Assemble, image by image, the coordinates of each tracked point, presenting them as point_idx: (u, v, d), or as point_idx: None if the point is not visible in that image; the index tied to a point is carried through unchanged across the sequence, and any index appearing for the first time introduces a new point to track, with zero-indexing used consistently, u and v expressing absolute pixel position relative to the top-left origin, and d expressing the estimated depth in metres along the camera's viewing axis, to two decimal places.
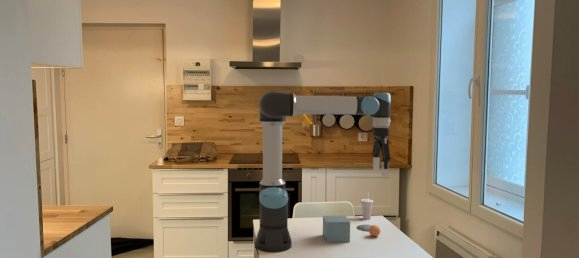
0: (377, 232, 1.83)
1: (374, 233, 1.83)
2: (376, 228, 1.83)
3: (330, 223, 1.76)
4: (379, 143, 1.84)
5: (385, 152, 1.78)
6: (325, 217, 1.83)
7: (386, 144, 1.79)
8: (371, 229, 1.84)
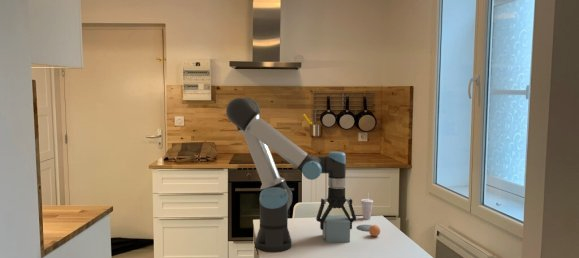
0: (377, 232, 1.83)
1: (374, 233, 1.83)
2: (376, 228, 1.83)
3: (330, 223, 1.76)
4: None
5: (318, 212, 1.81)
6: None
7: (321, 205, 1.80)
8: (371, 229, 1.84)
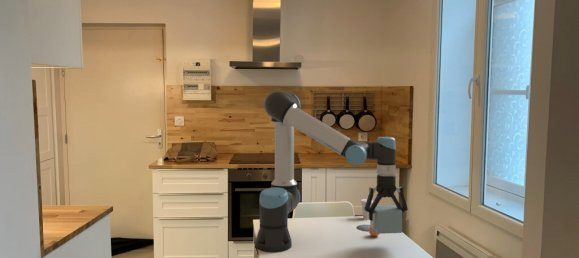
0: None
1: (374, 233, 1.83)
2: None
3: (381, 213, 1.65)
4: None
5: (366, 202, 1.70)
6: None
7: (370, 194, 1.69)
8: (371, 229, 1.84)
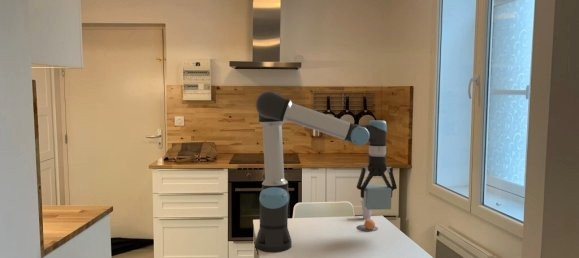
0: None
1: None
2: None
3: (372, 190, 1.77)
4: None
5: None
6: None
7: (362, 173, 1.81)
8: None
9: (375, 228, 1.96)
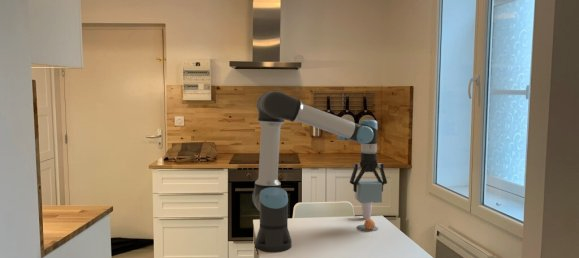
0: None
1: None
2: None
3: (364, 185, 1.91)
4: None
5: (351, 176, 1.96)
6: None
7: (354, 168, 1.95)
8: None
9: (375, 228, 1.96)
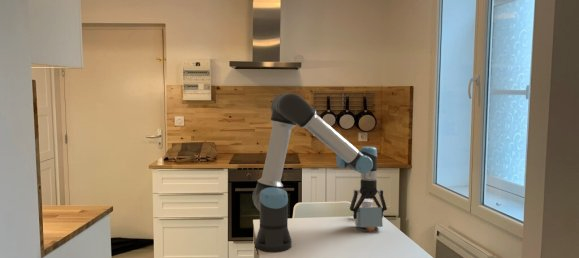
0: None
1: None
2: None
3: (363, 209, 1.92)
4: None
5: (351, 202, 1.96)
6: None
7: (354, 195, 1.95)
8: None
9: (375, 228, 1.96)
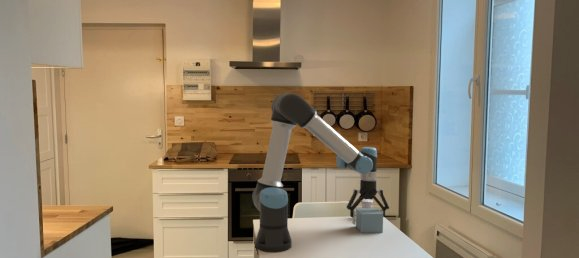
0: None
1: None
2: None
3: (365, 215, 1.90)
4: None
5: (349, 201, 1.96)
6: (358, 210, 1.97)
7: (353, 194, 1.96)
8: None
9: None
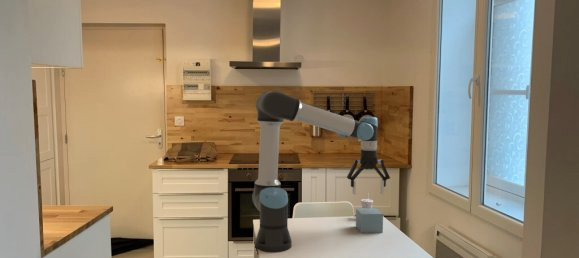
0: None
1: None
2: None
3: (365, 215, 1.90)
4: None
5: (350, 171, 1.96)
6: (358, 210, 1.97)
7: (354, 164, 1.95)
8: None
9: None
